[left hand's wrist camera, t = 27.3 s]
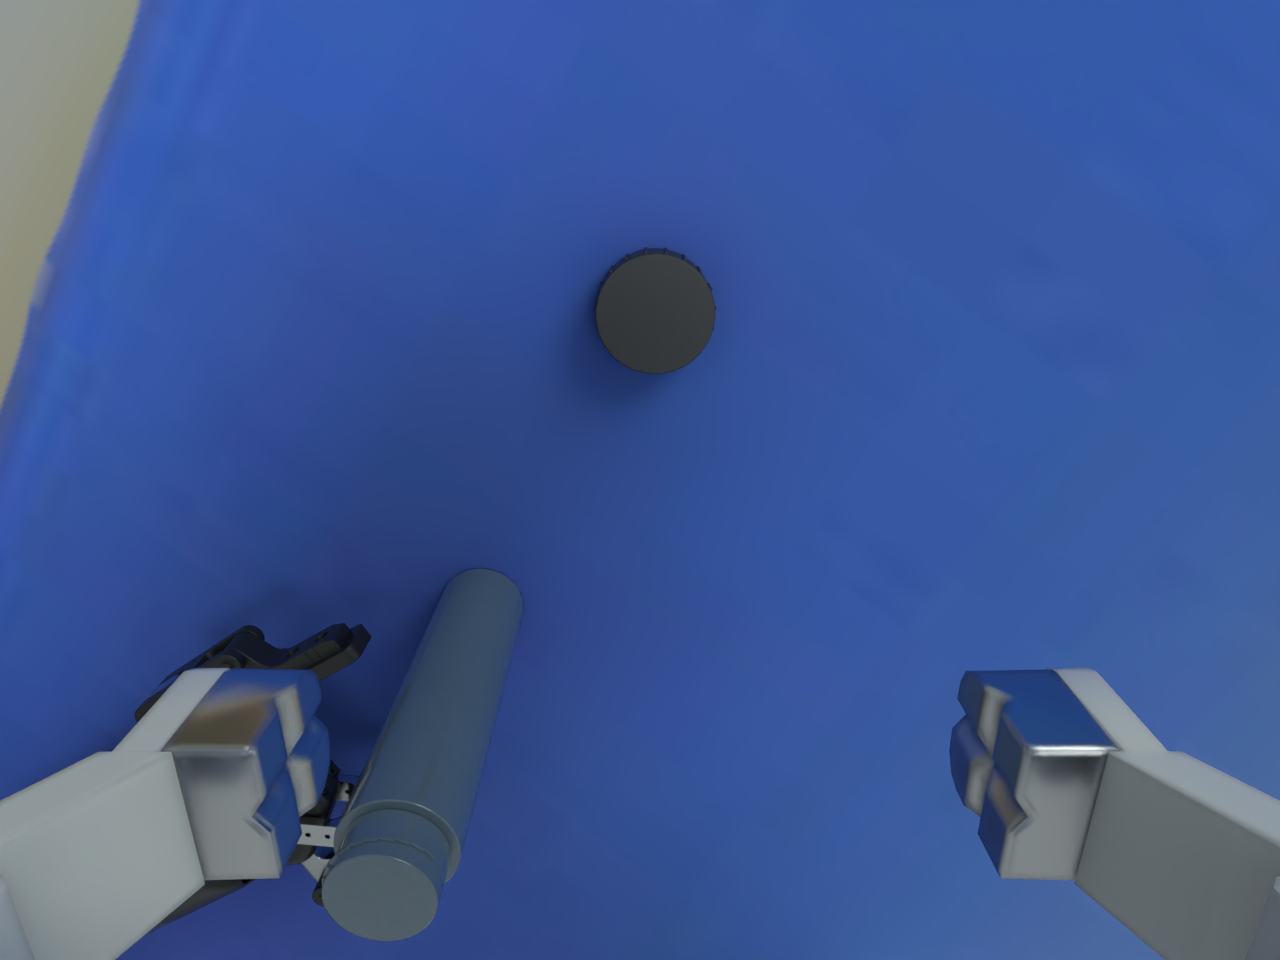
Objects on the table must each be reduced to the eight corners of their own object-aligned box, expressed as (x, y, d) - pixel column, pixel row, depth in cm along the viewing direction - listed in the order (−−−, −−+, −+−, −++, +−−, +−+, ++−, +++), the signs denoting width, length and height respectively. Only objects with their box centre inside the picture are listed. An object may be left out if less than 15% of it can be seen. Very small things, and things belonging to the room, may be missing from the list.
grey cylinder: (433, 573, 43) (294, 855, 25) (515, 563, 42) (431, 841, 25) (451, 644, 44) (331, 954, 27) (530, 635, 44) (460, 942, 27)
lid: (726, 343, 38) (731, 353, 36) (618, 378, 39) (617, 391, 37) (692, 230, 36) (696, 235, 34) (580, 269, 37) (576, 276, 35)
